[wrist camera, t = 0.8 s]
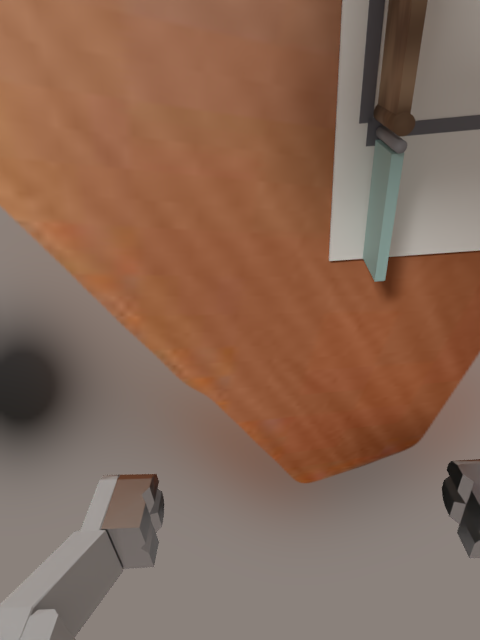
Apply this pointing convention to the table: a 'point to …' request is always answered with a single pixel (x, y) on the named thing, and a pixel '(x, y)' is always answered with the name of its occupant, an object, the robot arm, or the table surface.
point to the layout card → (422, 143)
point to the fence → (400, 64)
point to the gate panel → (383, 200)
